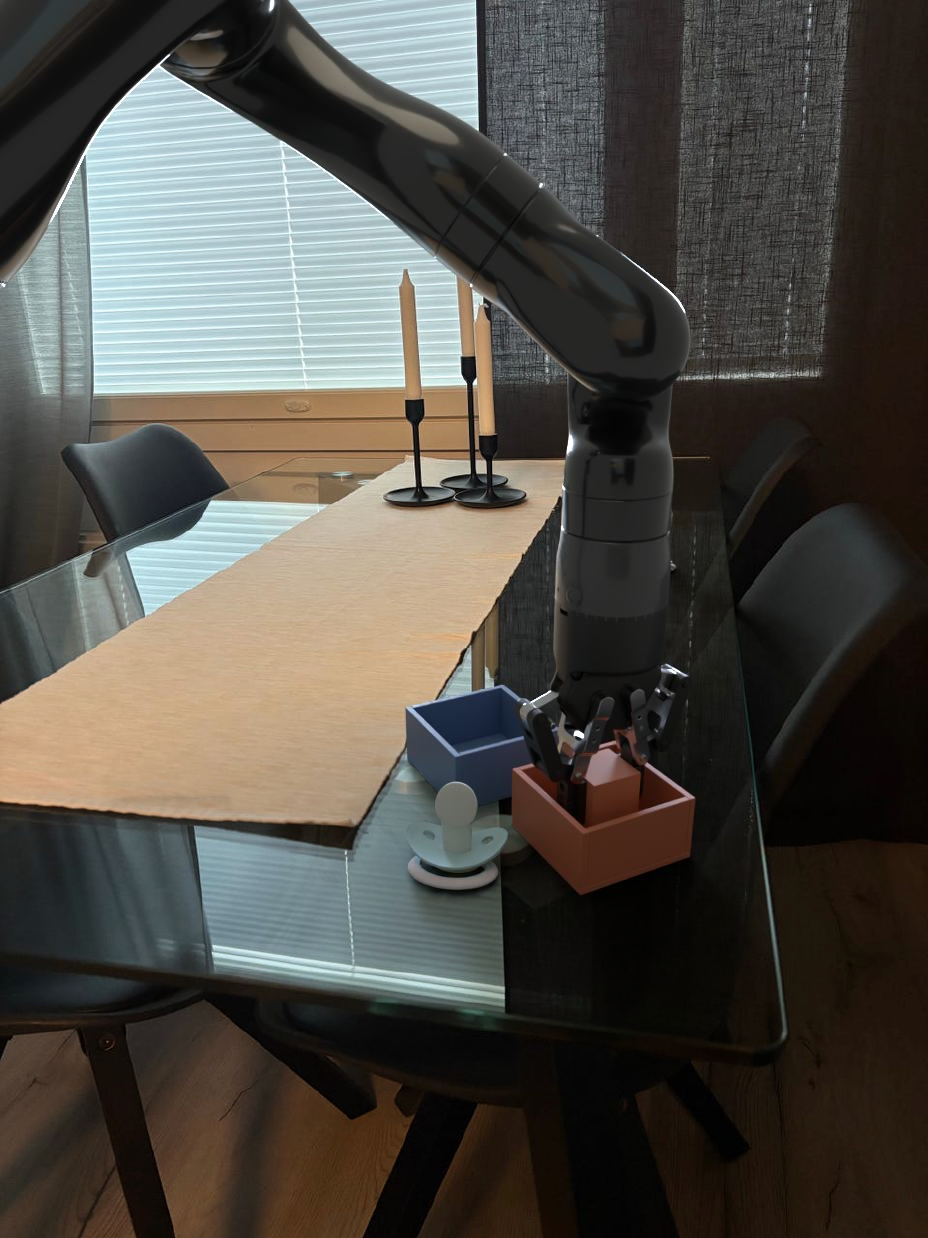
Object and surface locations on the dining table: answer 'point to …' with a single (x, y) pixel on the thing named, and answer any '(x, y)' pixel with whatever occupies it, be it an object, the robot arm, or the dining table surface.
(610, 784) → the block
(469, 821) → the pacifier
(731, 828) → the dining table surface
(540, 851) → the terracotta bin
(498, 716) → the blue bin
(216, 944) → the dining table surface
